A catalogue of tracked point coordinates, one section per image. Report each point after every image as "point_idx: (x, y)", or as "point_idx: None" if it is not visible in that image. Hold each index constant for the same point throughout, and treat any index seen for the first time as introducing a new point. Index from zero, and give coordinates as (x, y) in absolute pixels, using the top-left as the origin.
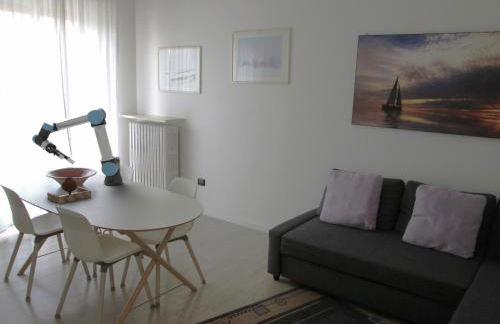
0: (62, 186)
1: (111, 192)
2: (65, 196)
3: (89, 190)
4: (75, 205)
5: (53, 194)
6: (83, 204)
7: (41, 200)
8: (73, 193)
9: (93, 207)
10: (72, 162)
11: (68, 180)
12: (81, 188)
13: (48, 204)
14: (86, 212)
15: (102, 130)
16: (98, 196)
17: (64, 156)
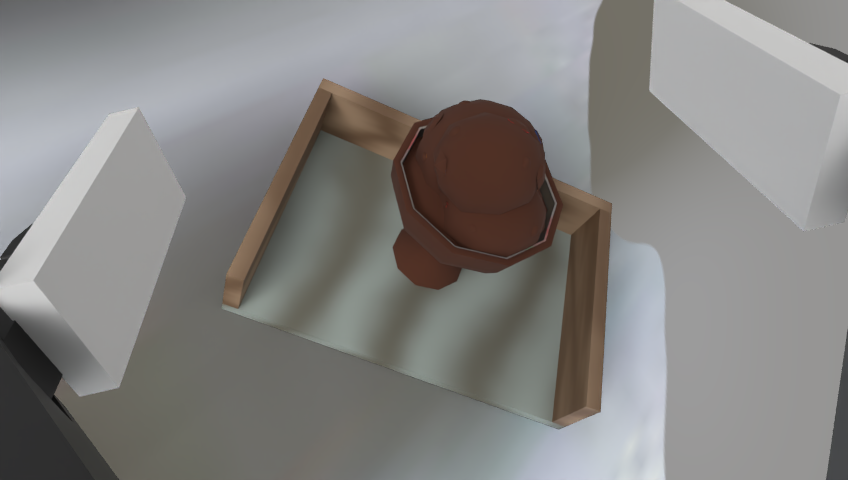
0: (557, 217)
1: (82, 31)
2: (559, 184)
3: (323, 89)
4: (532, 124)
5: (595, 304)
6: (489, 90)
7: (608, 457)
8: (304, 312)
9: (499, 17)
10: (159, 176)
11: (535, 134)
12: (283, 197)
13: (630, 306)
14: (578, 19)
15: None
16: (263, 80)
17: (83, 452)
